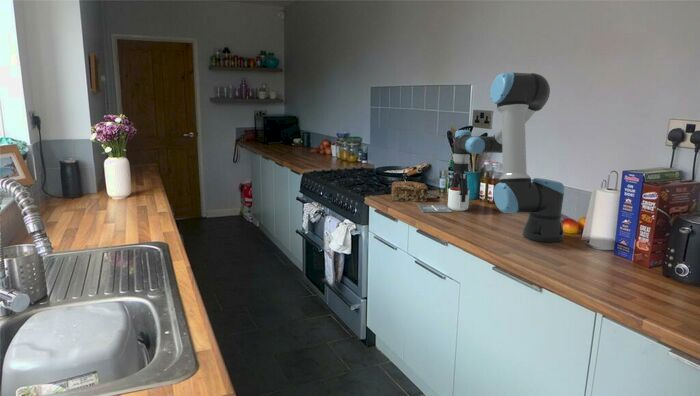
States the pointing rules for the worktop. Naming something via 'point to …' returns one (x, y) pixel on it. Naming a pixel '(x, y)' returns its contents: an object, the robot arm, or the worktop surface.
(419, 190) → the bread
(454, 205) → the cup
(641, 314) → the worktop surface
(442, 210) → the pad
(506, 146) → the robot arm
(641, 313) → the worktop surface
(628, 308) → the worktop surface
